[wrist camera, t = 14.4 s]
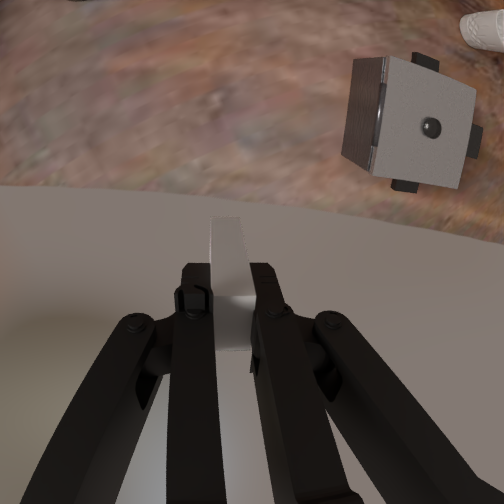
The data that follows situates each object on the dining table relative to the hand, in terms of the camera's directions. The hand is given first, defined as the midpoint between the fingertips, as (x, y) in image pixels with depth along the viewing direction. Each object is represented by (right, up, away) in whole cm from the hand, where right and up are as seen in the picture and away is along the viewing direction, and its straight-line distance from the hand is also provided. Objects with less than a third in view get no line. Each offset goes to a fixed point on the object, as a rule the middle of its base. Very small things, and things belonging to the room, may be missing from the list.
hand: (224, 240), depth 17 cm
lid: (+25, +16, +18) cm, 35 cm away
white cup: (+40, +39, +18) cm, 59 cm away
